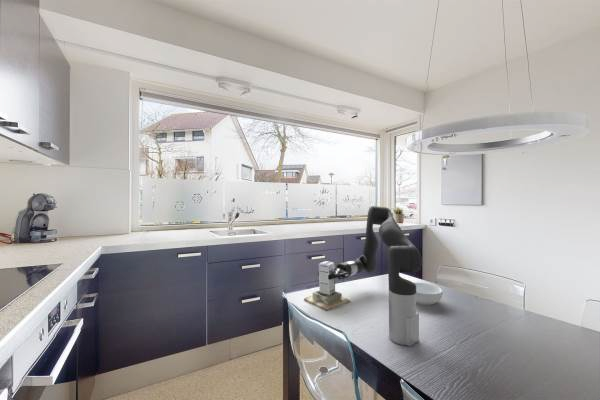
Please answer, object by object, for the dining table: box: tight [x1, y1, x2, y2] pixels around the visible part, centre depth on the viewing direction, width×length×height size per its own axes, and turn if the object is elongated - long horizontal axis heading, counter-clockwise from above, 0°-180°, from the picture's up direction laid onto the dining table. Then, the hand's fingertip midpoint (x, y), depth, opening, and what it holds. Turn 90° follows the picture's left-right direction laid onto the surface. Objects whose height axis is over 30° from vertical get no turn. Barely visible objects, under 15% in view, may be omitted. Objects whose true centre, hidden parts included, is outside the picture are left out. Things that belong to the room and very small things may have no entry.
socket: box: [303, 289, 351, 311], centre depth 130 cm, size 16×16×4 cm
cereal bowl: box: [413, 282, 443, 306], centre depth 128 cm, size 17×17×7 cm
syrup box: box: [318, 260, 336, 295], centre depth 130 cm, size 6×6×14 cm
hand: (323, 275), depth 129 cm, fingers closed on syrup box, 6 cm apart
